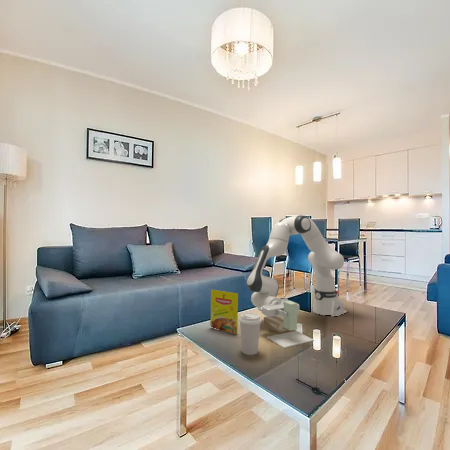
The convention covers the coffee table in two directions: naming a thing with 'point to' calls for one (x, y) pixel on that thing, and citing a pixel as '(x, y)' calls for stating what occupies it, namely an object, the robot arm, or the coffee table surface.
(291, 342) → the rubber mat
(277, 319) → the plate
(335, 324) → the coffee table surface
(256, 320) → the coffee cup
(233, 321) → the food package
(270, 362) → the coffee table surface
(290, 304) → the sage green pillar
